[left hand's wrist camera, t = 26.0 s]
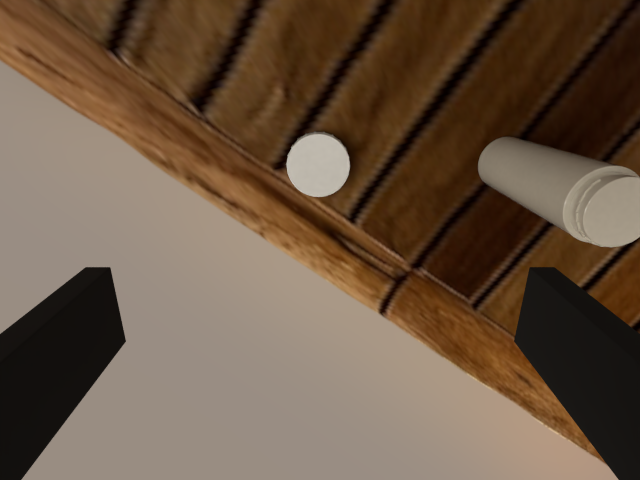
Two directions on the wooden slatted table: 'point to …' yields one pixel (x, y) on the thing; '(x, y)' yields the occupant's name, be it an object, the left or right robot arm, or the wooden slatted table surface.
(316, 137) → the lid
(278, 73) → the wooden slatted table surface
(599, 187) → the jar
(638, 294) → the wooden slatted table surface
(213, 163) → the wooden slatted table surface
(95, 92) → the wooden slatted table surface
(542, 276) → the left robot arm
